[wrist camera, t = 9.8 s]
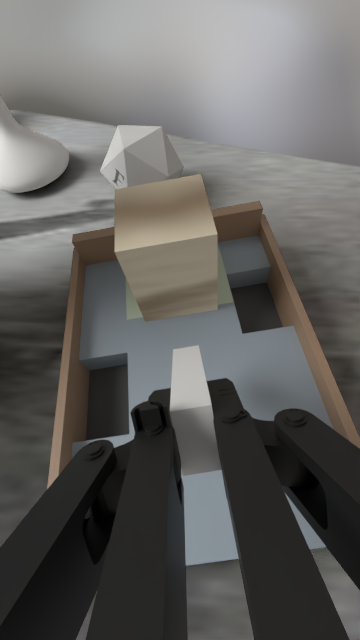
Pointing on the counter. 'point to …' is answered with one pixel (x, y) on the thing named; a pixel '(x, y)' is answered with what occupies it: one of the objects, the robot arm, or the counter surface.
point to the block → (168, 247)
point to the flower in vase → (27, 156)
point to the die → (140, 157)
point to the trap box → (216, 353)
